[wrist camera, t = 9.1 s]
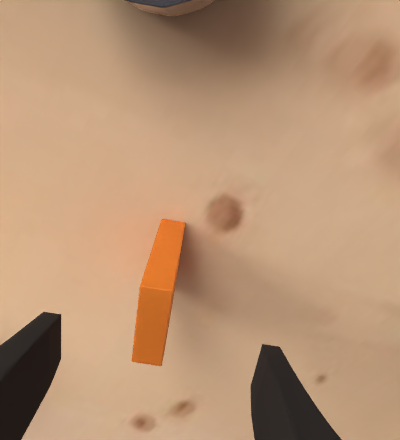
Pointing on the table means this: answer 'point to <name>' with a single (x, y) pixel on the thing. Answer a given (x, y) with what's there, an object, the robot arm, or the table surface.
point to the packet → (157, 294)
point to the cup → (170, 6)
